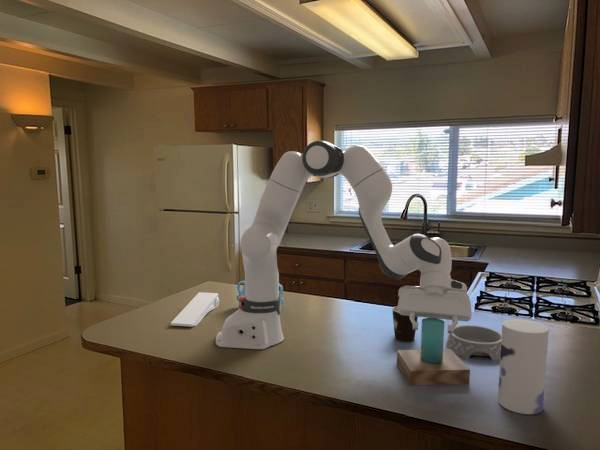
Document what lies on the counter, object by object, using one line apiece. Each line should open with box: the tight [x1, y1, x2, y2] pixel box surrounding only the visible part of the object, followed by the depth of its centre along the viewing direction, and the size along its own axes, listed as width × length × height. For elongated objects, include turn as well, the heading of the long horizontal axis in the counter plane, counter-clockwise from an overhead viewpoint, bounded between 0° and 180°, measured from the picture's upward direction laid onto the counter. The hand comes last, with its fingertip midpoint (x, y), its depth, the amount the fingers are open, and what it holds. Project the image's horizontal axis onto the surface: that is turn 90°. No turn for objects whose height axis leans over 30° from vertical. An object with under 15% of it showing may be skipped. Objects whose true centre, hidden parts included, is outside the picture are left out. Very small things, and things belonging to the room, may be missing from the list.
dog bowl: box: [445, 324, 502, 361], centre depth 149 cm, size 17×18×5 cm
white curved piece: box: [170, 291, 220, 328], centre depth 182 cm, size 10×7×28 cm
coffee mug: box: [391, 305, 419, 343], centre depth 159 cm, size 12×9×10 cm
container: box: [497, 318, 550, 415], centre depth 114 cm, size 10×10×20 cm
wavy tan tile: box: [396, 348, 471, 386], centre depth 132 cm, size 16×14×4 cm
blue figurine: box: [236, 280, 285, 305], centre depth 189 cm, size 16×16×14 cm
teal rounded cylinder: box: [420, 317, 445, 364], centre depth 131 cm, size 6×6×11 cm
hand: (432, 330), depth 131 cm, fingers open, 8 cm apart
